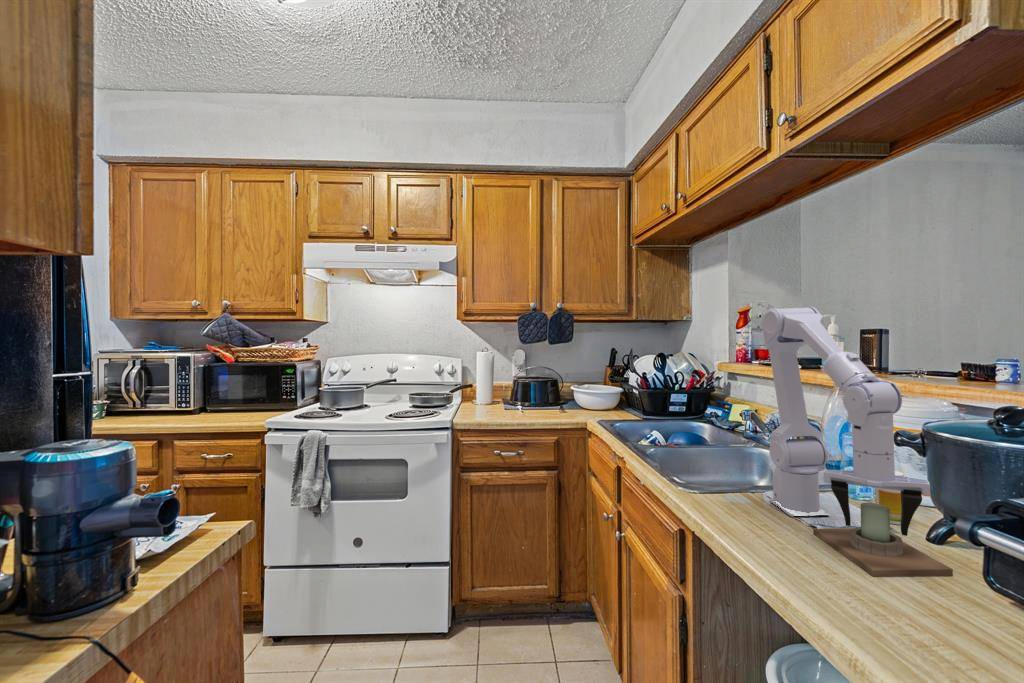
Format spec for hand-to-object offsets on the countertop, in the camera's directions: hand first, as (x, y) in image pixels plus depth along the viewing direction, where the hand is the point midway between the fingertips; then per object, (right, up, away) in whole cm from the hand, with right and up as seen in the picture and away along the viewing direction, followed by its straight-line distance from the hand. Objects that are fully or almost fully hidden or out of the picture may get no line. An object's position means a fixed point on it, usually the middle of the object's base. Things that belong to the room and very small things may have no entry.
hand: (875, 528), depth 81 cm
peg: (0, -3, 0) cm, 3 cm away
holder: (0, -4, 0) cm, 4 cm away
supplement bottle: (+14, -4, +13) cm, 20 cm away
